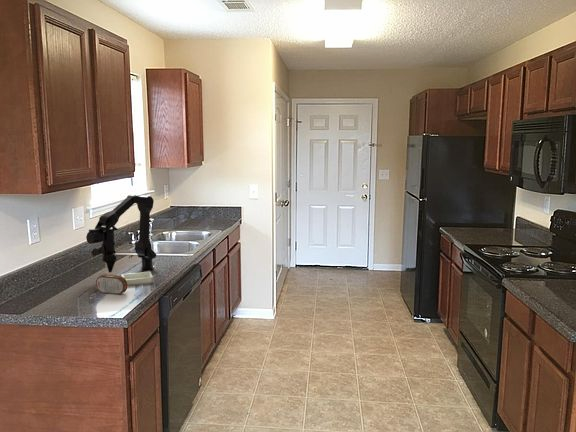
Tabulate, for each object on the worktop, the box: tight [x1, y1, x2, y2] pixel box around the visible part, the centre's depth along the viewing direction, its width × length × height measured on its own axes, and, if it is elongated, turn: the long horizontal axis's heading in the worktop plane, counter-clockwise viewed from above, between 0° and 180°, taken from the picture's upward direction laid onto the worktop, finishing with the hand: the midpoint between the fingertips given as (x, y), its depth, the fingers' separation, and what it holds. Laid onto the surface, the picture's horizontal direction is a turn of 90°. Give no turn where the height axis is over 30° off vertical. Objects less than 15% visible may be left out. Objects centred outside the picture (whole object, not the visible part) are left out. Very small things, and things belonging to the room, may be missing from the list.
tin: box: [95, 273, 129, 295], centre depth 212 cm, size 15×3×8 cm, turn 74°
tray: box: [120, 271, 154, 287], centre depth 231 cm, size 12×14×3 cm
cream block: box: [104, 262, 116, 275], centre depth 235 cm, size 4×4×9 cm
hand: (110, 271), depth 235 cm, fingers closed on cream block, 4 cm apart
